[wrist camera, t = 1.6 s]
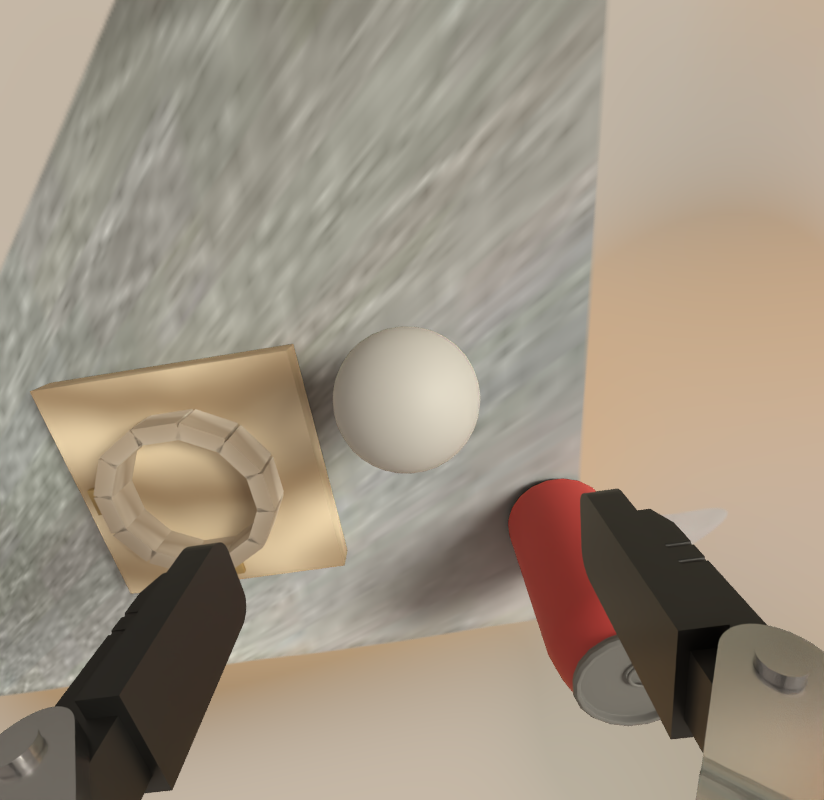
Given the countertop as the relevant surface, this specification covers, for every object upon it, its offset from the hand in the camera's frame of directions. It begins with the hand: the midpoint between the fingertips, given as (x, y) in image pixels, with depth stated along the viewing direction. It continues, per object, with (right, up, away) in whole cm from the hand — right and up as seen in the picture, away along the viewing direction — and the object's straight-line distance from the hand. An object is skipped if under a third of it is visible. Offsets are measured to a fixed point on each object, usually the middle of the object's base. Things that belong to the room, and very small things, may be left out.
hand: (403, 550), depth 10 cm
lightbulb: (0, +6, +16) cm, 18 cm away
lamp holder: (-13, -1, +19) cm, 23 cm away
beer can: (+10, -4, +21) cm, 23 cm away
